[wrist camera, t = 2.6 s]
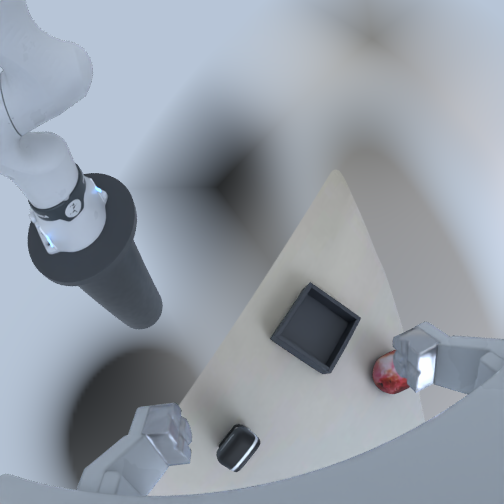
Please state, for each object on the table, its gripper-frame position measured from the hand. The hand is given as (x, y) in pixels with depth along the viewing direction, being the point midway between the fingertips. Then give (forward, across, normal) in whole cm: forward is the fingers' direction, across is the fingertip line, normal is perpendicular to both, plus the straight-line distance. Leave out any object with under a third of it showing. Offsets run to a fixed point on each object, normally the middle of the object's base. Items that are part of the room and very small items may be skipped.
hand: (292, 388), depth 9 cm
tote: (+41, -10, +22) cm, 48 cm away
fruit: (+36, -22, +36) cm, 55 cm away
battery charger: (+29, +11, +33) cm, 45 cm away
